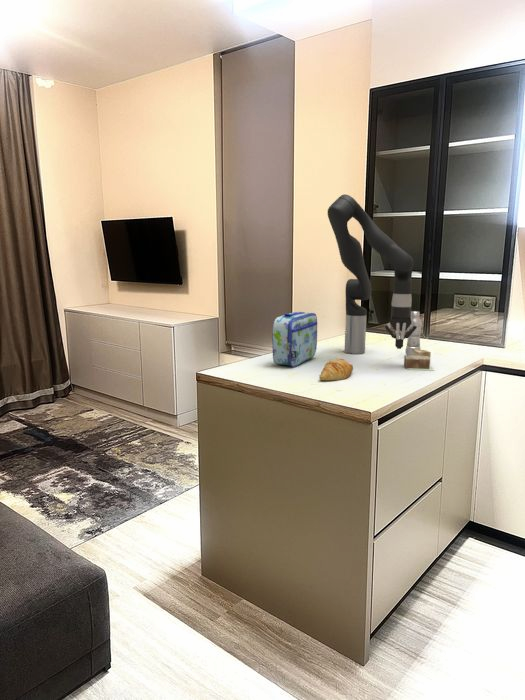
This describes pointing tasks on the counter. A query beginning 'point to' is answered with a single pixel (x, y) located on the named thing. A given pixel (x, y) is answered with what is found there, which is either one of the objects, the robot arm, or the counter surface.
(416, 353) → the oak block
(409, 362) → the walnut block
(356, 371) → the counter surface
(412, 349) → the plastic bottle
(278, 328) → the lunch box
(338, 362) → the croissant
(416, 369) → the pad
